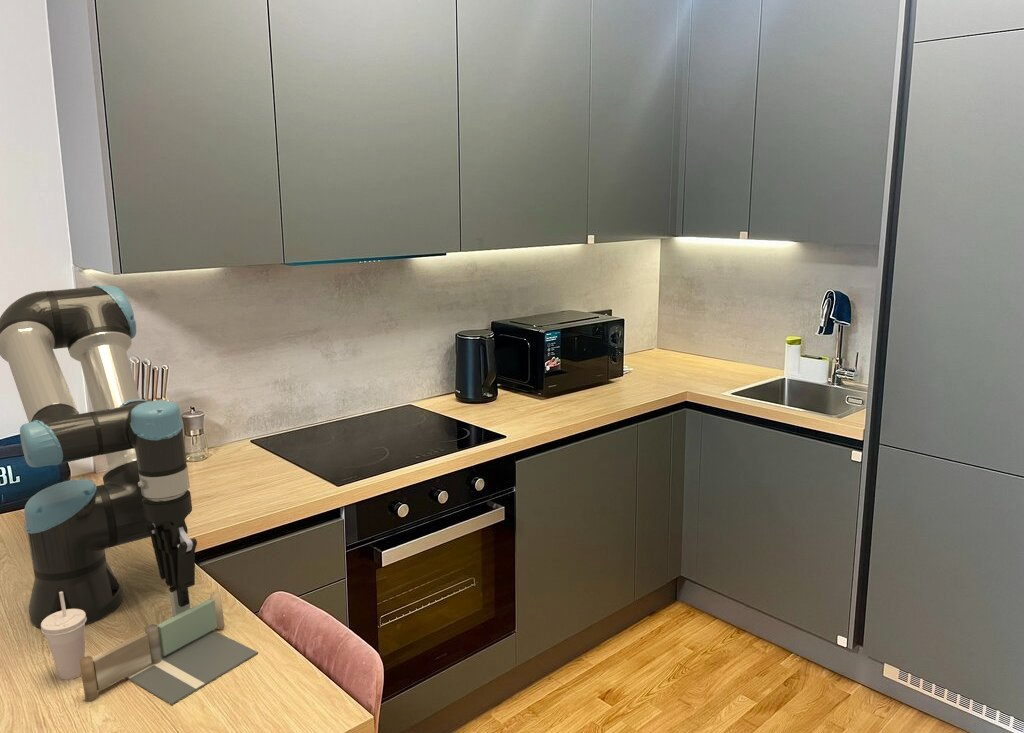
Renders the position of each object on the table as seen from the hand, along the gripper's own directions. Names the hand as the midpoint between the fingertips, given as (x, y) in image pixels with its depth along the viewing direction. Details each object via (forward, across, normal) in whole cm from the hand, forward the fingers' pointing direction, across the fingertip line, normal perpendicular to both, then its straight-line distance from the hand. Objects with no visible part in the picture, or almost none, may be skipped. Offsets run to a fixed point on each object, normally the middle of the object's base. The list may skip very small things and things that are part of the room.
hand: (182, 619), depth 143 cm
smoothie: (+2, -2, -18) cm, 18 cm away
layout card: (+2, +7, -5) cm, 9 cm away
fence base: (+2, +6, -13) cm, 15 cm away
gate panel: (+2, +5, -1) cm, 5 cm away
